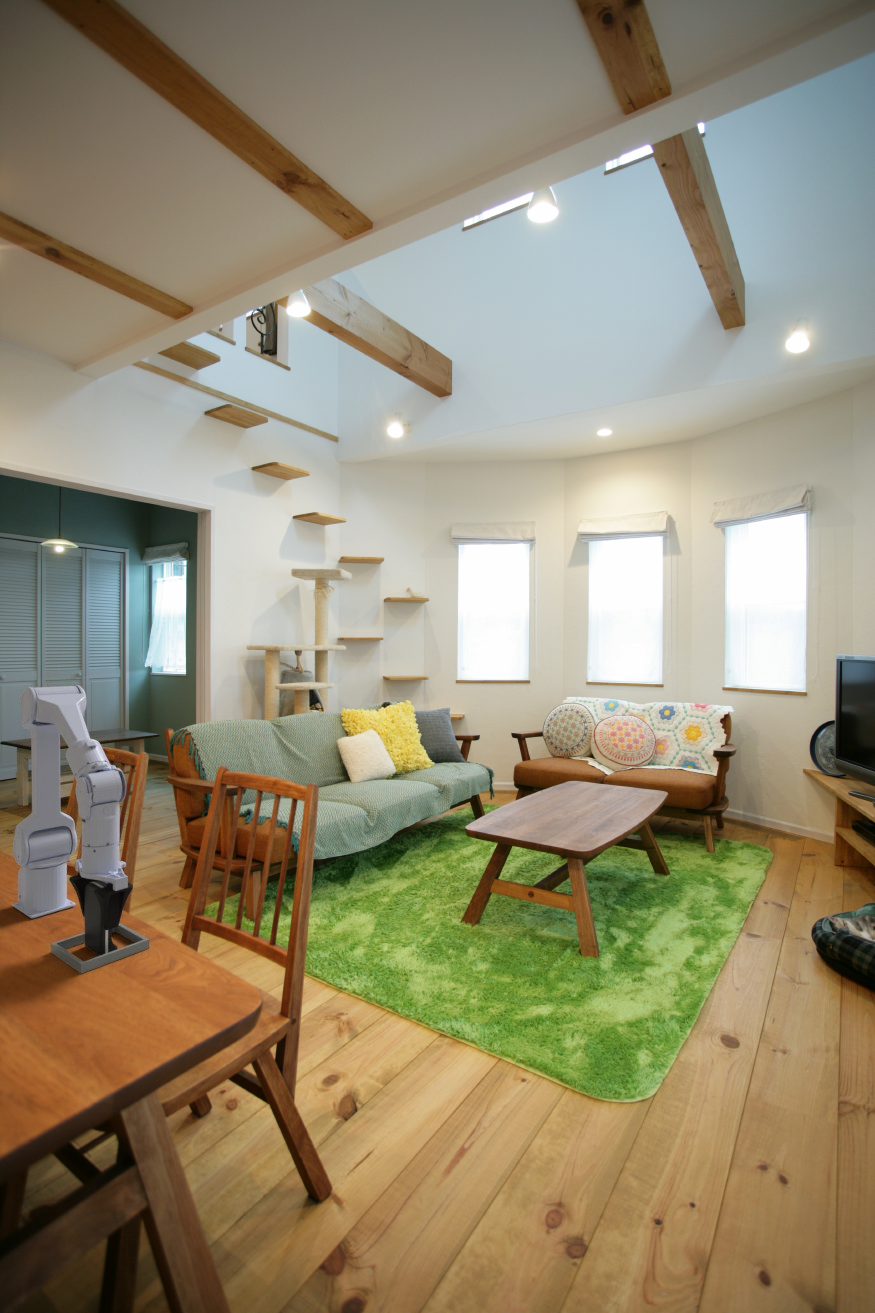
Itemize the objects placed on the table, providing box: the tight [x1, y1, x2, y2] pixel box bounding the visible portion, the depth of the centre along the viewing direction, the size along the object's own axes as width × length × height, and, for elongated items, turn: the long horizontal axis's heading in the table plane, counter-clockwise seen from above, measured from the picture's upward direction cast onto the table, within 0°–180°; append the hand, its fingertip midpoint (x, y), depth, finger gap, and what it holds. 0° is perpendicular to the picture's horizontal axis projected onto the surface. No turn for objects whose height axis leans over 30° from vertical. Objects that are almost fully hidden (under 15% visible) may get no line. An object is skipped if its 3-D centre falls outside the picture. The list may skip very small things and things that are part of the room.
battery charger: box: [83, 880, 119, 956], centre depth 112 cm, size 7×4×11 cm, turn 51°
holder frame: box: [50, 922, 150, 975], centre depth 111 cm, size 11×11×2 cm
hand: (100, 921), depth 111 cm, fingers open, 7 cm apart
